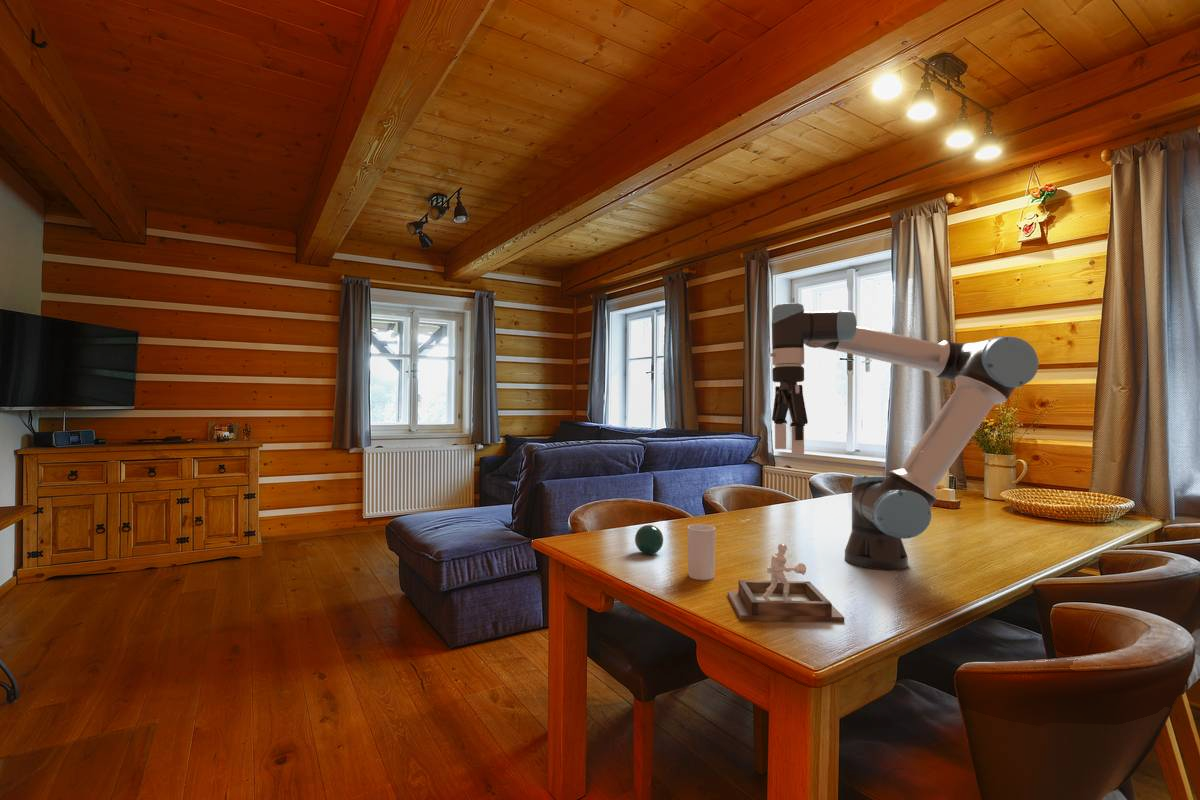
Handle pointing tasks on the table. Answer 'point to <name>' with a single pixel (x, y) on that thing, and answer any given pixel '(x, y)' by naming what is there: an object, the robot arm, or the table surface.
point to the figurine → (781, 573)
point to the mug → (701, 551)
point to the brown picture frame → (783, 603)
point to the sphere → (649, 539)
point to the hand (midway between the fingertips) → (788, 451)
